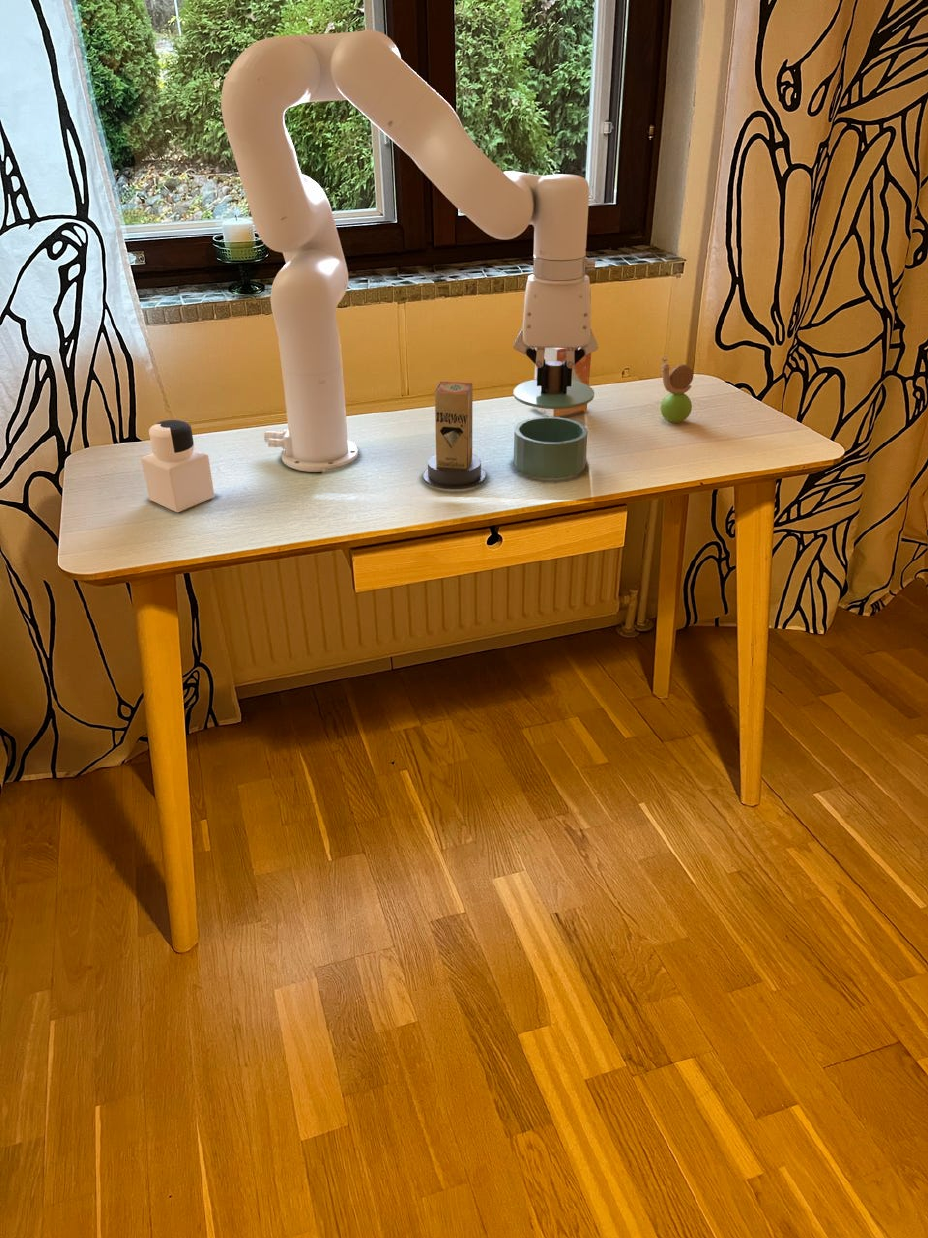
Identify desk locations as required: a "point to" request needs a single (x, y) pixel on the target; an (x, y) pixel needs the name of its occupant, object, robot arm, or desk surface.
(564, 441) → the tin
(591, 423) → the desk surface
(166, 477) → the medicine bottle
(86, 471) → the desk surface
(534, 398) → the tin lid
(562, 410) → the small box
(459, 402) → the shoe polish box
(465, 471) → the stand
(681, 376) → the snail figurine
